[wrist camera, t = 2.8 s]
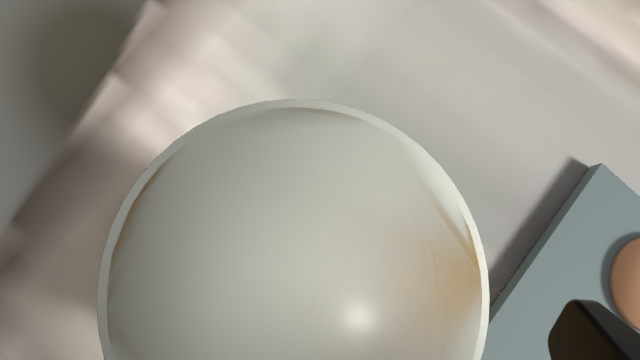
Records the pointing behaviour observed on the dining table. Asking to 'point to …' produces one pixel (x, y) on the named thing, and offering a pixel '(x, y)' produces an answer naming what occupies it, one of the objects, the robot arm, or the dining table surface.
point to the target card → (572, 268)
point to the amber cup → (293, 246)
